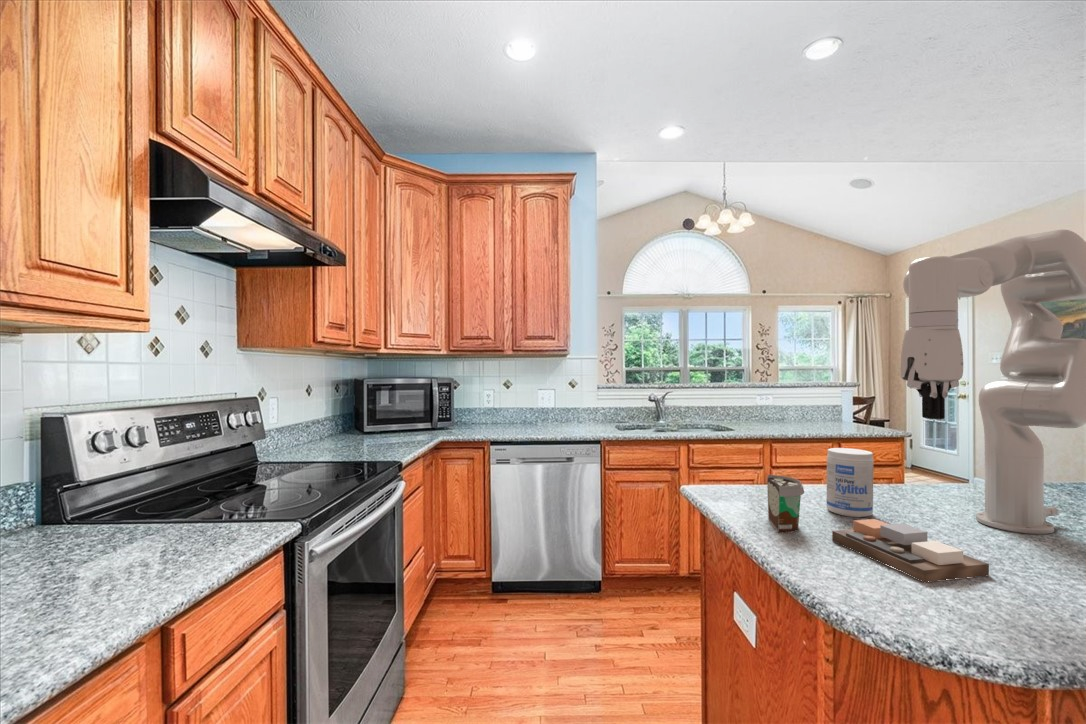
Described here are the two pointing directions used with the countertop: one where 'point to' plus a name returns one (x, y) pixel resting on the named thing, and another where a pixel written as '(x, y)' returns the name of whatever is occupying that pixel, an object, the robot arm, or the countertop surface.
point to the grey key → (903, 533)
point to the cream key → (937, 552)
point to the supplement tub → (850, 482)
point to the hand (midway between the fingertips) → (933, 418)
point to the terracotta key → (869, 527)
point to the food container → (784, 502)
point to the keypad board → (908, 557)
